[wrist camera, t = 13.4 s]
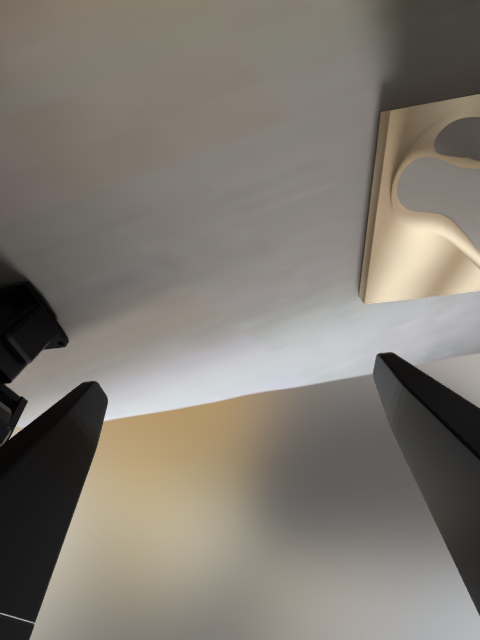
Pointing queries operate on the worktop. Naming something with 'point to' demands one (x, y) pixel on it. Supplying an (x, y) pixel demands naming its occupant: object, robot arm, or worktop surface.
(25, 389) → the worktop surface
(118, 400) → the worktop surface
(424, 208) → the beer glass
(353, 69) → the worktop surface
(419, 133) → the birch board
